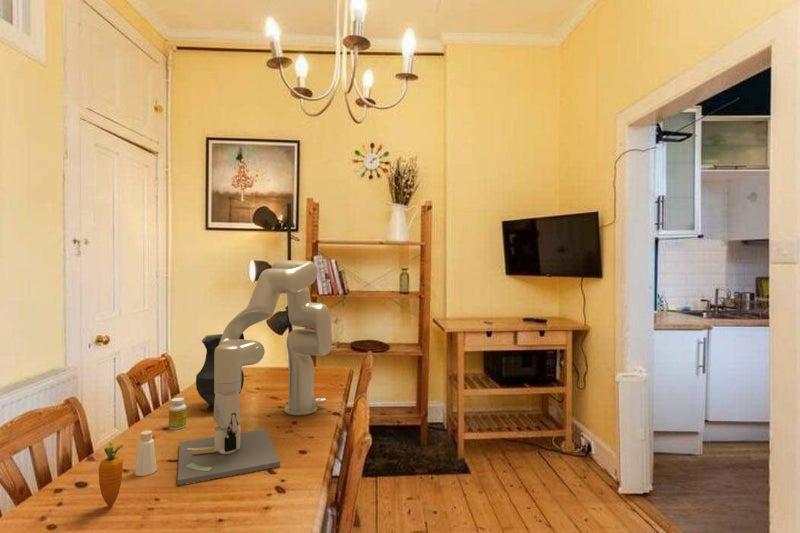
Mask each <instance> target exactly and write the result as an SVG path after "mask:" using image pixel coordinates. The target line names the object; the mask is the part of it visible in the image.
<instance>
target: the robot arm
mask: <svg viewBox="0 0 800 533" xmlns="http://www.w3.org/2000/svg"><path fill="white" fill-rule="evenodd" d="M318 273H319V271H318V266H317V265H316V264H315V263H314V262H313V261H311V260H289V259H287V260H285V259H284V260H277V261H275V262H274V263H273V264H272V265H271V268H266V269H264V270H263V271H261V272H260V275H259V277H258V279H257V282H256V284H255V287H254V290H253V292H252V294H251V297H250V300H249V302H248V304H247V306H246V307H245V308H244V309H243V310H241V311H240V312H239V313H238V314H236V315H235V316H234V318H232V320H231V321H229V323H228V324H227V325H226V326H225V328H224V331H223V332H222V334H223V335H222V337H221V340H220V343H219V346H217V347H216V349H215V357H214V393H215V400H214V412H213V421H214V423H216V425H217V427H221V428H222V429H225V431H226V438H225V447H224V450H225V452H228V451H231V450H235V449H236V436H237V431H238V427H237V426H238V425H241V424H240V422H241V404H240V394H239V392H240V391H241V392H242V390H241V369H242V367H245V366H253V365H257V364H258V363H260V362H261V360H262V359H263V358H264V355H265V353H266V352H265V347H264V345H263V343H261V342H259V341H258V340H252V339H245V338H244V339H239V337H240V336H241V334H242V333H243V334H244V332H245V331H246V330H247V329H249V328H250V327H252V326H254V325H256V324H259V323H261V322H263V321H265V320H268V319H270V318H271V317H272V316H273V315H274V313H275V309H276V306H277V304H278V301H279V298H280V296H281V294H286V298H287V299H286V300H287V311H288V319H289V323H290V324H291V326H294V327H297V328H296V329H293V330H291V331H290V332H289V333H288V335H287V337H286V348H287V353H288V354H287V355H288V404H287V405H285V406H284V408H283V409H284V412H285V414H288V415H290V416H306V415H311V414H313V413H315V412H317V411H318V405H323V404H326V403H327V401H326V400H327V399H326V398H321V397H315V396H314V394H315V393H314V390H315V389H314V388H315V386H314V384H315V383H314V382H315V362H314V360H313V359H312V357H311V356H318V357H319V356H320V357H321V356H327V355H328V354H329V353H330V351H331V349H332V344H333V343H332V341H333V339H332V337H333V336H332V322H331V321H332V320H331V312H330V309H329V308H328V306H327V305H326V304H325V303H321V302H312V301H311V294H310V288H309V286H311V285H313V284H314V283H315V281H316V280H317V277H318ZM306 328H312V329H306ZM241 392H240V393H241ZM228 426H229V427H228ZM231 428H232V429H231ZM228 429H231V430H230V431H229V430H228Z"/></svg>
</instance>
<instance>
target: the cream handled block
mask: <svg viewBox="0 0 800 533" xmlns="http://www.w3.org/2000/svg"><path fill="white" fill-rule="evenodd" d="M229 426H230V425H229ZM229 426H228V427H229ZM237 427H238V431H237V436H236V449H240V433H241V424H239V425H238V426H237ZM231 429H232V428H231ZM231 429H228V430H229V431H230V430H231ZM213 431H214V433H213V434H214V436H213V437H214V447H205V448H194V449H193V450H192V454H202V453H211V452H215V451H218V452H219V453H220V454H231V453H233V452H235V451H236V449H235V450H231V451H228V452H225V450H224V447H225V438H226V431H225V429H222V428H221V427H219V426H216V427H215V428H214V430H213Z"/></svg>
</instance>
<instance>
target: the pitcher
mask: <svg viewBox="0 0 800 533" xmlns="http://www.w3.org/2000/svg"><path fill="white" fill-rule="evenodd" d="M222 335H223V333H219V334H206V335H205V336H204V337H203V338H202V339H201V343H202V344H203V346H204V347H205V349H206V353H205V359H204V360H205V361H204V363H203V366H202V368H201V369H200V371H199V372H198V373H197V374H196V376H195V386H196V391H197V393H198V395H199V397H201V399H202V400H204V401H205V402H206V403H207V404H208V406H207V408H206V410H207V411H208V412H211V413H214V400H215V393H214V357H215V349H216V347H217V346H219V343H220V340H221V337H222ZM239 339H244V340H245V336H244V332H243V333H242V334H241V336H240V337H239ZM244 381H245V374H244V371H243V369H242V368H241V391H240V392H239V395H240V394H241V392H242V391H243V390H242V389H244V384H245V382H244Z"/></svg>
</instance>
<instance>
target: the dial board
mask: <svg viewBox="0 0 800 533" xmlns="http://www.w3.org/2000/svg"><path fill="white" fill-rule="evenodd" d="M205 447H214V436H212V437H205V438H197V439H191V440H190V439H189V440H184V441H183V440H182V441H179V449H178V463H177V464H178V465H177V466H178V468H177V484H176V485H181V486H184V485H183V484H186V485H188V484H187V483H191V484H194V483H193V482H197V483H199V482H198V481H202V482H204V481H203V480H207V481H209V480H208V479H213V478H218V479H220V478H219V477H223V478H226V477H225V476H229V477H231V476H230V475H234V476H237V475H236V474H239V475H243V474H242V473H245V474H248V473H247V472H250V473H253V472H252V471H256V472H259V471H258V470H261V471H264V470H263V469H266V470H270V469H269V468H272V469H275V468H274V467H277V468H280V467H281V461H280V458H279V456H278V454H277V452H276V450H275V447H274V444H273V442H272V440H271V438H270V435H269V433H268V431H267V429H259V430H251V431H246V432H240V449H236V451H235V452H233V453H231V454H220V453H219V452H218V451H215V452H211V453H202V454H192V450H193V449H194V448H205ZM213 480H214V479H213Z"/></svg>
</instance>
